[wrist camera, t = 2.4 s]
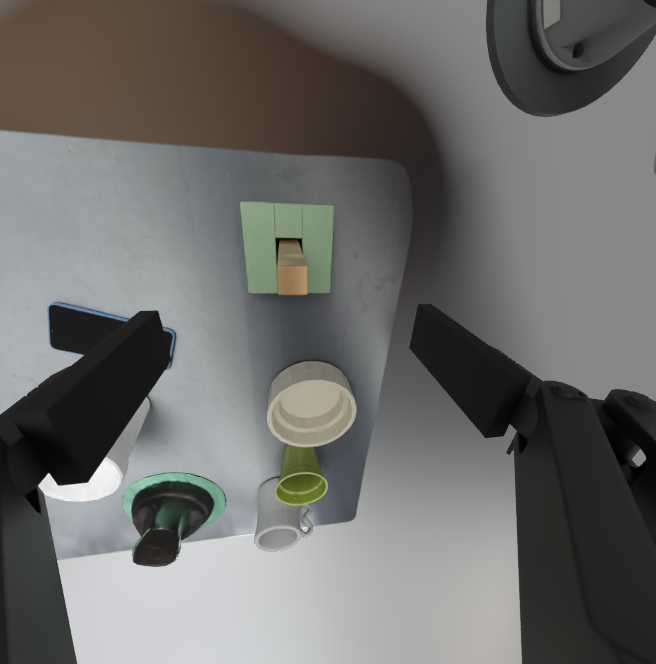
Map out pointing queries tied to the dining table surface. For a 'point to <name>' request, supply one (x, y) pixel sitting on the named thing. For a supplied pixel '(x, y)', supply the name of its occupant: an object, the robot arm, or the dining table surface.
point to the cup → (103, 467)
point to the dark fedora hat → (169, 513)
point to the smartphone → (85, 328)
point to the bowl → (310, 404)
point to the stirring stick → (291, 268)
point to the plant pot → (300, 477)
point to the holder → (286, 222)
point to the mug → (278, 521)
